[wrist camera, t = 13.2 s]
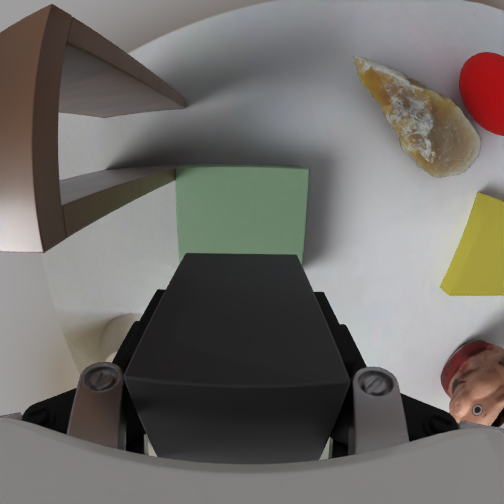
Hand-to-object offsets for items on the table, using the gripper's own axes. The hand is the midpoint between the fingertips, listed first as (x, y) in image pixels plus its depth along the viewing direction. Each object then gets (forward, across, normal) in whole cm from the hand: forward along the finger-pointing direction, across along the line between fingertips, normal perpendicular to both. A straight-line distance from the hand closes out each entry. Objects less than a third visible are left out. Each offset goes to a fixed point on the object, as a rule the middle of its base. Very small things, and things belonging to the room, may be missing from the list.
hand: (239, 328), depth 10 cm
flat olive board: (+16, -36, +2) cm, 39 cm away
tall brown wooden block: (+16, +9, -8) cm, 20 cm away
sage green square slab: (+16, 0, 0) cm, 16 cm away
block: (+2, 0, 0) cm, 2 cm away
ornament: (+16, -25, -16) cm, 34 cm away
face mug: (+16, -37, +21) cm, 45 cm away
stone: (+16, -15, -11) cm, 25 cm away
